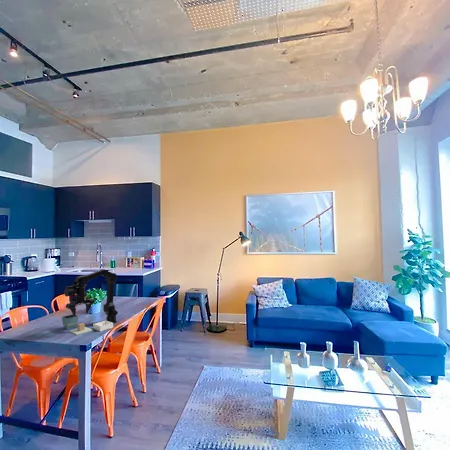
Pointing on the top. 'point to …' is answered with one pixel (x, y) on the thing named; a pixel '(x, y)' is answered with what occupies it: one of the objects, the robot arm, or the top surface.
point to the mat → (79, 334)
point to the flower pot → (70, 321)
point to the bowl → (103, 325)
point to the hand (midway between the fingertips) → (80, 315)
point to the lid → (81, 329)
